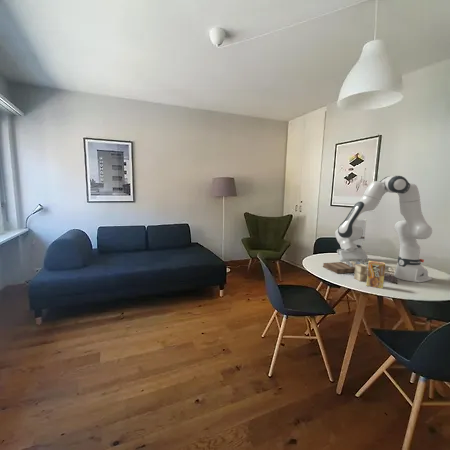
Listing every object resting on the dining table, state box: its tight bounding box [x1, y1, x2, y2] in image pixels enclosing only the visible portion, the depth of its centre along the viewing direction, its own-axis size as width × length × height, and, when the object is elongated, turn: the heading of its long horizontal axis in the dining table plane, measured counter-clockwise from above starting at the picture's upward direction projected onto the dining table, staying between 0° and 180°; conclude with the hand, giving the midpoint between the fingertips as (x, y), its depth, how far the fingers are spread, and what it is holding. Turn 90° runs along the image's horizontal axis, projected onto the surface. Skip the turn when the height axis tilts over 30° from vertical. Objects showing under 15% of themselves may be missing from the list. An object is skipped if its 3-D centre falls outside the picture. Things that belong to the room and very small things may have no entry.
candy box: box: [366, 260, 386, 289], centre depth 158 cm, size 9×4×15 cm, turn 62°
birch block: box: [353, 263, 368, 282], centre depth 170 cm, size 5×5×10 cm
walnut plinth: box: [322, 261, 355, 274], centre depth 191 cm, size 16×16×3 cm
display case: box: [353, 218, 367, 263], centre depth 217 cm, size 11×11×35 cm
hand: (357, 266), depth 172 cm, fingers open, 8 cm apart
